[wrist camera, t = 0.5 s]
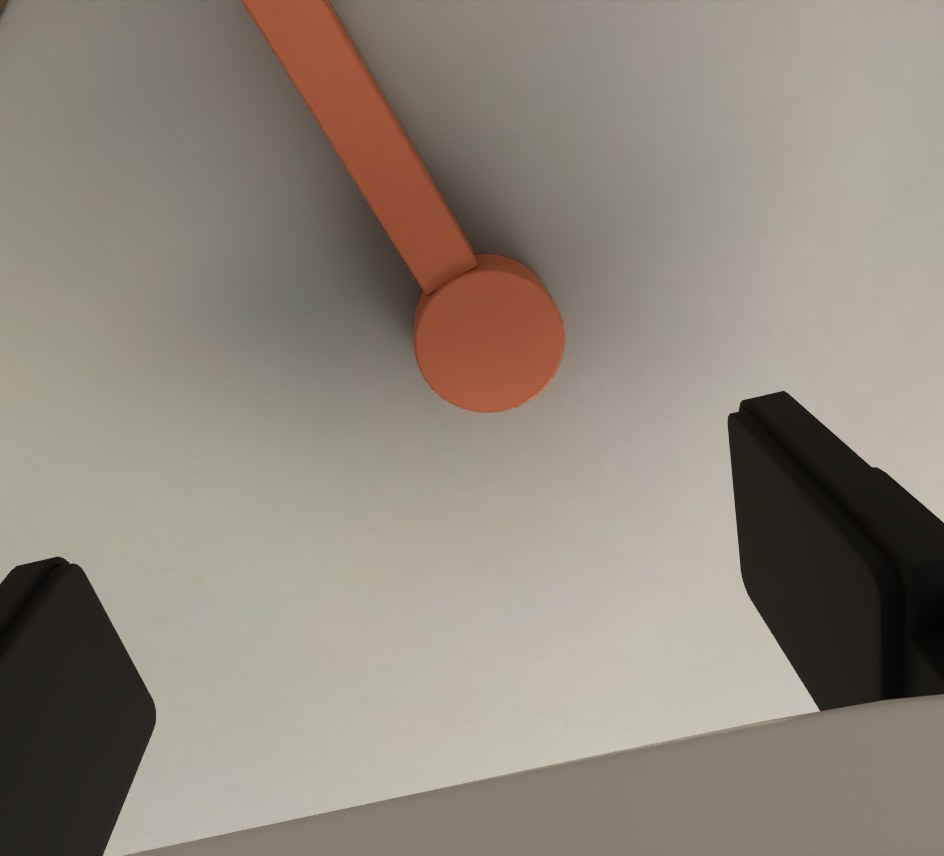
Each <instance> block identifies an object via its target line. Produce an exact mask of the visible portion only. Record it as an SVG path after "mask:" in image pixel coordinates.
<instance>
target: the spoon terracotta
mask: <svg viewBox="0 0 944 856" xmlns="http://www.w3.org/2000/svg"><path fill="white" fill-rule="evenodd" d="M242 2H243V4H244V5H245V7H246V8H247V10H248V12H249V13H250V15H251V16H252V18H253V20H254V21H255V23H256V24H257V26H258V28H259V29H260V31H261V32H262V34H263V36H264V37H265V39H266V40H267V42H268V44H269V45H270V47H271V48H272V50H273V52H274V53H275V55H276V56H277V58H278V60H279V61H280V63H281V64H282V66H283V68H284V69H285V71H286V72H287V74H288V76H289V77H290V79H291V80H292V82H293V84H294V85H295V87H296V88H297V90H298V91H299V93H300V95H301V96H302V98H303V99H304V101H305V103H306V104H307V106H308V107H309V109H310V111H311V112H312V114H313V115H314V117H315V119H316V120H317V122H318V123H319V125H320V127H321V128H322V130H323V131H324V133H325V135H326V136H327V138H328V139H329V141H330V143H331V144H332V146H333V147H334V149H335V151H336V152H337V154H338V155H339V157H340V159H341V160H342V162H343V163H344V165H345V167H346V168H347V170H348V171H349V173H350V175H351V176H352V178H353V179H354V181H355V183H356V184H357V186H358V187H359V189H360V191H361V192H362V194H363V195H364V197H365V199H366V200H367V202H368V203H369V205H370V207H371V208H372V210H373V211H374V213H375V215H376V216H377V218H378V219H379V221H380V222H381V224H382V226H383V227H384V229H385V230H386V232H387V234H388V235H389V237H390V238H391V240H392V242H393V243H394V245H395V246H396V248H397V250H398V251H399V253H400V254H401V256H402V258H403V259H404V261H405V262H406V264H407V266H408V267H409V269H410V270H411V272H412V274H413V275H414V277H415V278H416V280H417V282H418V283H419V285H420V286H421V288H422V290H423V292H422V294H421V296H420V298H419V301H418V304H417V307H416V313H415V333H414V347H415V356H416V360H417V364H418V366H419V369H420V371H421V373H422V375H423V377H424V379H425V380H426V382H427V383H428V384H429V386H430V387H431V388H432V389H433V390H434V391H435V392H436V393H437V394H438V395H439V396H441V397H442V398H443V399H444V400H446V401H448V402H449V403H451V404H453V405H455V406H457V407H460V408H463V409H466V410H470V411H475V412H487V413H490V412H500V411H505V410H509V409H512V408H515V407H517V406H520V405H522V404H524V403H526V402H527V401H529V400H530V399H532V398H534V397H535V396H536V395H537V394H538V393H540V392H541V391H542V390H543V389H544V388H545V387H546V386H547V384H548V383H549V382H550V380H551V379H552V378H553V376H554V374H555V373H556V371H557V369H558V366H559V364H560V362H561V358H562V354H563V350H564V328H563V322H562V319H561V316H560V313H559V311H558V309H557V307H556V305H555V303H554V301H553V299H552V298H551V296H550V294H549V293H548V291H547V289H546V287H545V286H544V284H543V283H542V281H541V280H540V279H539V278H538V276H537V275H536V274H535V273H534V272H533V271H531V270H530V269H529V268H528V267H526V266H525V265H523V264H522V263H520V262H518V261H516V260H514V259H511V258H508V257H505V256H501V255H496V254H477V255H475V253H474V250H473V248H472V246H471V245H470V243H469V241H468V240H467V238H466V236H465V234H464V233H463V231H462V229H461V227H460V226H459V224H458V222H457V221H456V219H455V217H454V215H453V214H452V212H451V210H450V209H449V207H448V205H447V203H446V202H445V200H444V198H443V197H442V195H441V193H440V191H439V190H438V188H437V186H436V184H435V183H434V181H433V179H432V178H431V176H430V174H429V172H428V171H427V169H426V167H425V166H424V164H423V162H422V160H421V159H420V157H419V155H418V154H417V152H416V150H415V148H414V147H413V145H412V143H411V141H410V140H409V138H408V136H407V135H406V133H405V131H404V129H403V128H402V126H401V124H400V123H399V121H398V119H397V117H396V116H395V114H394V112H393V111H392V109H391V107H390V105H389V104H388V102H387V100H386V98H385V97H384V95H383V93H382V92H381V90H380V88H379V86H378V85H377V83H376V81H375V80H374V78H373V76H372V74H371V73H370V71H369V69H368V67H367V66H366V64H365V62H364V61H363V59H362V57H361V55H360V54H359V52H358V50H357V49H356V47H355V45H354V43H353V42H352V40H351V38H350V37H349V35H348V33H347V31H346V30H345V28H344V26H343V24H342V23H341V21H340V19H339V18H338V16H337V14H336V12H335V11H334V9H333V7H332V6H331V4H330V2H329V0H242Z"/></svg>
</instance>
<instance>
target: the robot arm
mask: <svg viewBox="0 0 944 856" xmlns="http://www.w3.org/2000/svg"><path fill="white" fill-rule="evenodd" d="M728 433H729V444H730V455H731V466H732V477H733V488H734V499H735V510H736V521H737V532H738V543H739V555H740V566H741V574H742V578H743V582H744V585H745V588H746V591H747V593H748V595H749V597H750V599H751V600H752V602H753V604H754V605H755V607H756V609H757V610H758V612H759V613H760V615H761V617H762V618H763V620H764V621H765V623H766V625H767V626H768V628H769V629H770V631H771V633H772V634H773V636H774V637H775V639H776V641H777V642H778V644H779V645H780V647H781V649H782V650H783V652H784V653H785V655H786V657H787V658H788V660H789V661H790V663H791V665H792V666H793V668H794V669H795V671H796V673H797V674H798V676H799V678H800V679H801V681H802V682H803V684H804V686H805V687H806V689H807V690H808V692H809V694H810V695H811V697H812V698H813V700H814V702H815V703H816V705H817V706H818V708H819V710H820V712H814V713H808V714H802V715H797V716H791V717H785V718H779V719H773V720H768V721H762V722H757V723H753V724H748V725H743V726H738V727H733V728H728V729H724V730H719V731H714V732H709V733H704V734H699V735H694V736H690V737H685V738H680V739H675V740H670V741H665V742H660V743H656V744H651V745H646V746H641V747H636V748H631V749H627V750H622V751H617V752H612V753H607V754H602V755H597V756H593V757H588V758H583V759H578V760H573V761H568V762H563V763H559V764H554V765H549V766H544V767H539V768H534V769H530V770H525V771H520V772H515V773H511V774H506V775H501V776H497V777H492V778H487V779H482V780H478V781H473V782H468V783H464V784H459V785H454V786H450V787H445V788H440V789H435V790H431V791H426V792H421V793H417V794H412V795H407V796H402V797H398V798H393V799H388V800H384V801H379V802H374V803H369V804H365V805H360V806H355V807H351V808H346V809H341V810H337V811H332V812H327V813H322V814H318V815H313V816H308V817H304V818H299V819H294V820H289V821H285V822H280V823H275V824H270V825H266V826H261V827H256V828H251V829H247V830H242V831H237V832H233V833H228V834H223V835H218V836H214V837H209V838H204V839H199V840H195V841H190V842H185V843H180V844H176V845H171V846H166V847H162V848H157V849H152V850H147V851H143V852H138V853H133V854H128V855H124V856H944V523H943V522H942V521H941V520H940V519H939V518H938V517H936V516H935V515H934V514H933V513H932V512H931V511H929V510H928V509H927V508H926V507H925V506H924V505H923V504H921V503H920V502H919V501H918V500H917V499H916V498H914V497H913V496H912V495H911V494H910V493H909V492H908V491H906V490H905V489H904V488H903V487H902V486H901V485H899V484H898V483H897V482H896V481H895V480H894V479H893V478H891V477H890V476H889V475H888V474H887V473H885V472H884V471H882V470H881V469H879V468H876V467H871V466H870V465H869V464H867V463H866V462H865V461H864V460H863V459H862V458H861V457H859V456H858V455H857V454H856V453H855V452H854V451H853V450H852V449H850V448H849V447H848V446H847V445H846V444H845V443H844V442H842V441H841V440H840V439H839V438H838V437H837V436H836V435H835V434H833V433H832V432H831V431H830V430H829V429H828V428H827V427H825V426H824V425H823V424H822V423H821V422H820V421H819V420H818V419H816V418H815V417H814V416H813V415H812V414H811V413H810V412H808V411H807V410H806V409H805V408H804V407H803V406H802V405H801V404H799V403H798V402H797V401H796V400H795V399H794V398H793V397H791V396H790V395H789V394H788V393H786V392H785V391H781V392H777V393H773V394H768V395H764V396H759V397H755V398H751V399H746V400H742V401H741V403H740V407H739V412H736V413H731V414H729V416H728ZM155 723H156V709H155V704H154V702H153V699H152V697H151V695H150V693H149V692H148V690H147V688H146V686H145V684H144V682H143V680H142V679H141V677H140V675H139V673H138V671H137V669H136V667H135V666H134V664H133V662H132V660H131V658H130V656H129V654H128V652H127V651H126V649H125V647H124V645H123V643H122V641H121V639H120V638H119V636H118V634H117V632H116V630H115V628H114V626H113V625H112V623H111V621H110V619H109V617H108V615H107V613H106V612H105V610H104V608H103V606H102V604H101V602H100V600H99V599H98V597H97V595H96V593H95V591H94V589H93V587H92V585H91V584H90V582H89V580H88V578H87V576H86V574H85V572H84V571H83V570H82V568H81V567H80V566H78V565H77V564H70V563H69V562H68V561H66V560H65V559H64V558H61V557H54V558H50V559H45V560H41V561H37V562H32V563H28V564H24V565H19V566H16V567H15V568H14V569H13V570H11V572H10V573H9V574H8V575H7V576H6V578H5V579H4V580H3V581H2V583H1V584H0V856H103V853H104V851H105V849H106V846H107V844H108V841H109V839H110V836H111V834H112V831H113V829H114V826H115V824H116V821H117V819H118V816H119V814H120V811H121V809H122V806H123V804H124V801H125V799H126V797H127V794H128V792H129V789H130V787H131V784H132V782H133V779H134V777H135V774H136V772H137V769H138V767H139V764H140V762H141V759H142V757H143V754H144V752H145V749H146V747H147V745H148V742H149V740H150V737H151V735H152V732H153V730H154V727H155Z"/></svg>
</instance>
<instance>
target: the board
mask: <svg viewBox="0 0 944 856" xmlns="http://www.w3.org/2000/svg"><path fill="white" fill-rule="evenodd" d="M6 1H7V0H0V13H1V11H2V9H3V7H4V5H5V3H6Z"/></svg>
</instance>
